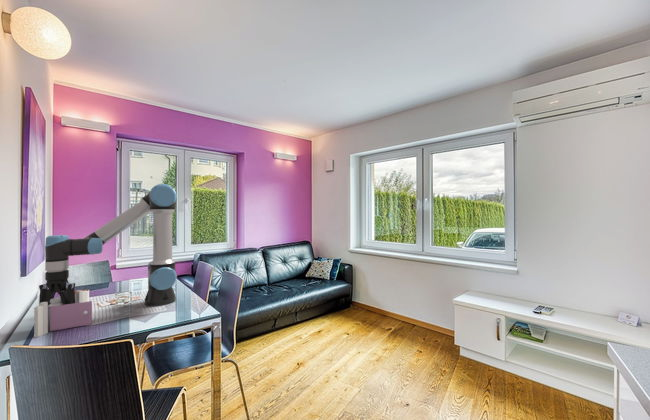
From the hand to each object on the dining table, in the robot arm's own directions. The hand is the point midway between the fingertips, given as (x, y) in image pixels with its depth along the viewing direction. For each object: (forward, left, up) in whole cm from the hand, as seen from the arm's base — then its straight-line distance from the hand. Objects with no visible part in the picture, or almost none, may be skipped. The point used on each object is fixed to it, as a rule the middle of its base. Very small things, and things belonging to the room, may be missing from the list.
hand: (57, 322), depth 124 cm
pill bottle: (0, 0, -1) cm, 1 cm away
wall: (-1, -2, -2) cm, 3 cm away
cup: (+8, -20, -2) cm, 22 cm away
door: (-7, +2, -1) cm, 8 cm away
